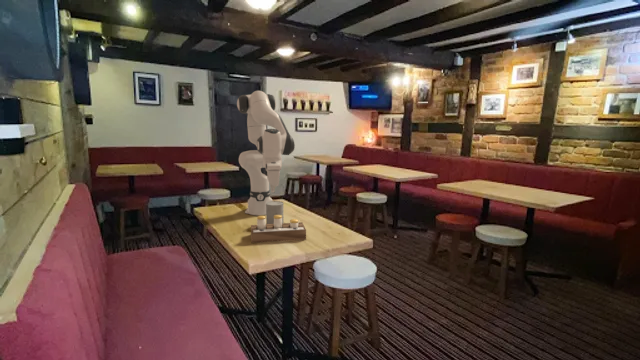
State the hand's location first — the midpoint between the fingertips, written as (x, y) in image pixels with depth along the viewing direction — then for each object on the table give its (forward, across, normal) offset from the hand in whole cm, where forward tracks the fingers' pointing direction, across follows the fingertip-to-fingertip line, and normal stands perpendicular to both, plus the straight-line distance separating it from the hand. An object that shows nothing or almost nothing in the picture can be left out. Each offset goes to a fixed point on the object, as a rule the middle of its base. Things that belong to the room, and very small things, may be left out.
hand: (272, 192), depth 161 cm
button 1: (+20, 0, -6) cm, 21 cm away
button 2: (+22, 0, +10) cm, 25 cm away
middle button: (+20, 0, +2) cm, 20 cm away
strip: (+18, +4, +2) cm, 19 cm away
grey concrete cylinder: (+23, -20, +3) cm, 31 cm away
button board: (+23, 0, +2) cm, 23 cm away
